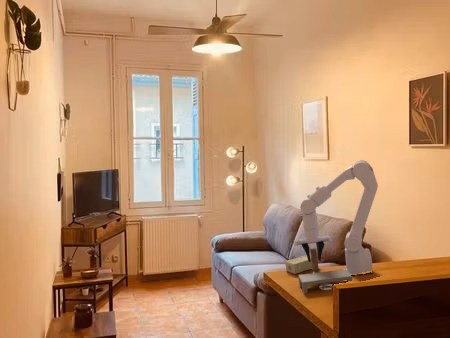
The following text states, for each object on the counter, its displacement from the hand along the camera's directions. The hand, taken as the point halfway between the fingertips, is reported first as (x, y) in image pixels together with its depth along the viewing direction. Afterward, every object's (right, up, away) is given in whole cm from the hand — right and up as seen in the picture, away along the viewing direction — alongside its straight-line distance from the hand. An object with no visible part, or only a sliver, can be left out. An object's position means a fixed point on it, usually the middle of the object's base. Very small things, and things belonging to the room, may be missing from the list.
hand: (314, 260), depth 176 cm
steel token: (+1, -7, -17) cm, 18 cm away
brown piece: (+1, -5, -4) cm, 7 cm away
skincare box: (-10, -4, +4) cm, 11 cm away
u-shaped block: (+1, -6, -16) cm, 17 cm away
